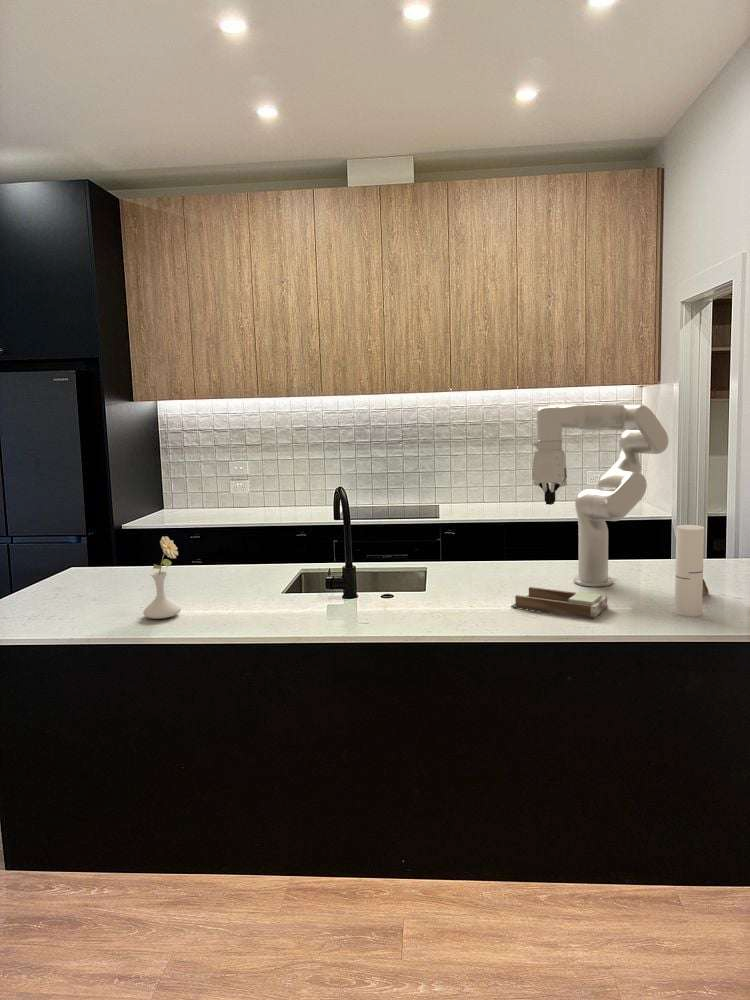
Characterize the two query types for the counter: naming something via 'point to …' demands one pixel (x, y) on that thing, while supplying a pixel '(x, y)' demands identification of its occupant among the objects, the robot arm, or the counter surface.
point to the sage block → (584, 598)
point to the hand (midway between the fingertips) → (550, 503)
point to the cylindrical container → (689, 570)
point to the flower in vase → (161, 603)
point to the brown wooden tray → (559, 603)
